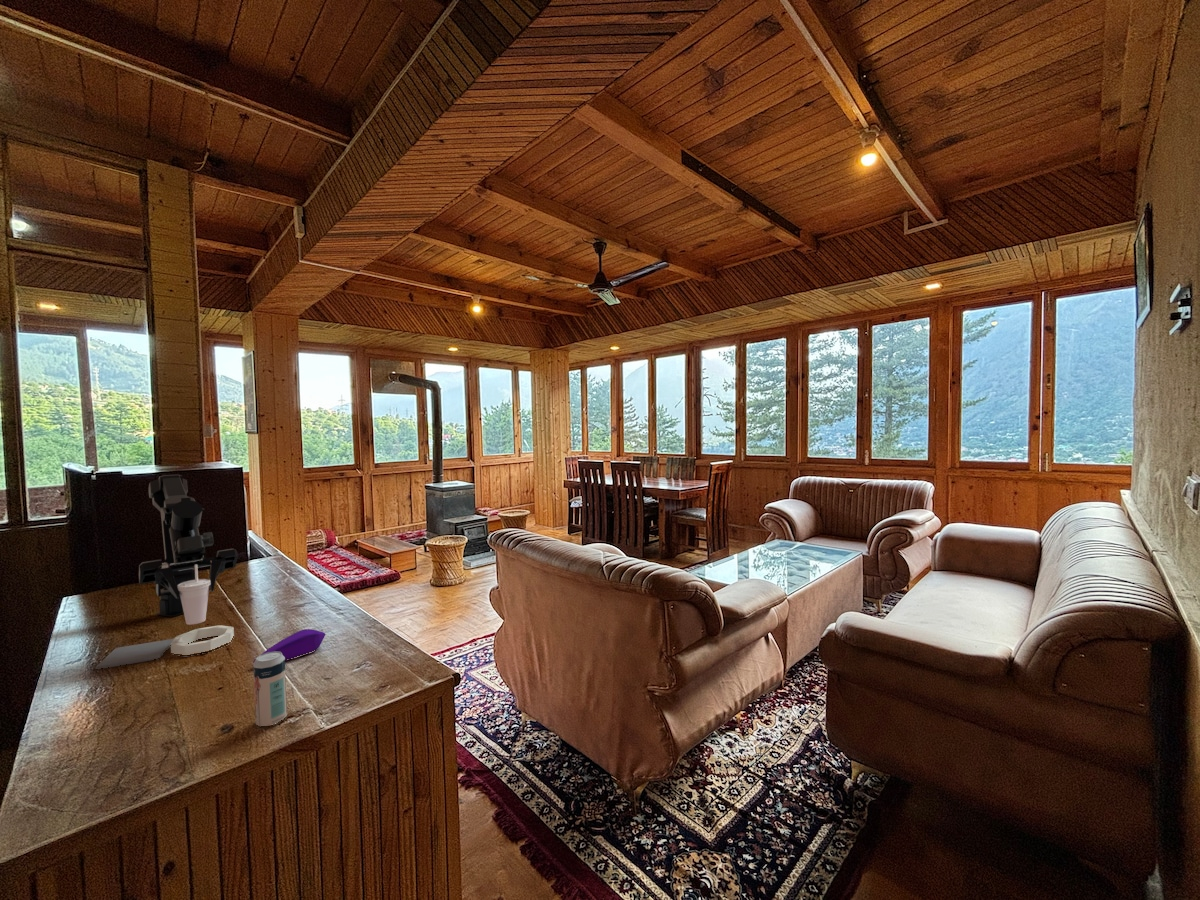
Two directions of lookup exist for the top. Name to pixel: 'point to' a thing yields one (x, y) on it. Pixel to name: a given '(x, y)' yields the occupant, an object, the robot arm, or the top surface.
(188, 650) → the ring holder
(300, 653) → the purple tapered wedge
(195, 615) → the smoothie
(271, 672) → the pill bottle
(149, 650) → the mat
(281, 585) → the top surface
